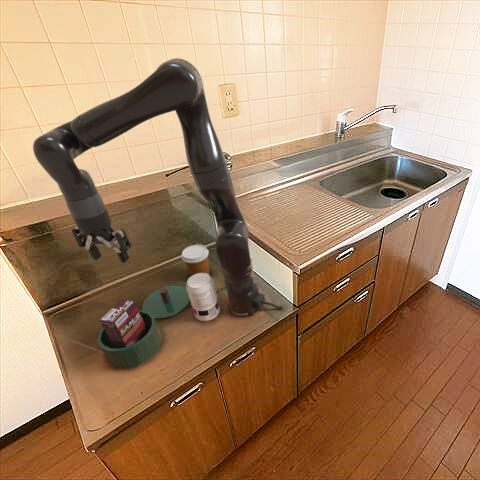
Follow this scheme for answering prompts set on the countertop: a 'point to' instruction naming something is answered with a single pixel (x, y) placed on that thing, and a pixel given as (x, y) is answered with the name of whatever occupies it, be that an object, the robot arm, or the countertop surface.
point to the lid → (166, 301)
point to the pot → (138, 350)
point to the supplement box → (124, 324)
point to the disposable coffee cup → (196, 259)
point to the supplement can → (203, 296)
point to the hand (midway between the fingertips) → (111, 259)
